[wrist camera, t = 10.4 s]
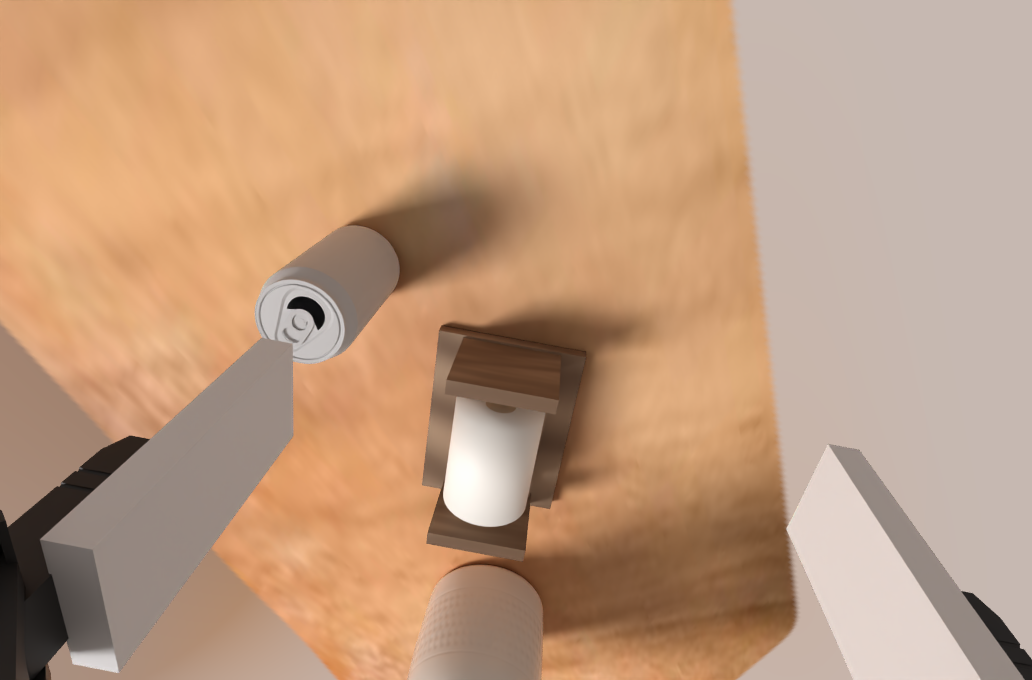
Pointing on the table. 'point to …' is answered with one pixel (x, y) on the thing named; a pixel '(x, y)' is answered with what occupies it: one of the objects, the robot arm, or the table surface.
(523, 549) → the holder
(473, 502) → the cylinder
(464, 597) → the lamp
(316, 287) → the beverage can
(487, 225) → the table surface
